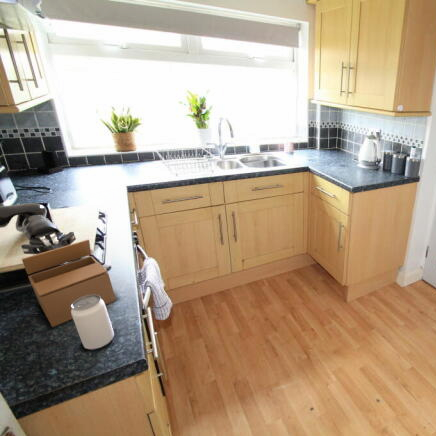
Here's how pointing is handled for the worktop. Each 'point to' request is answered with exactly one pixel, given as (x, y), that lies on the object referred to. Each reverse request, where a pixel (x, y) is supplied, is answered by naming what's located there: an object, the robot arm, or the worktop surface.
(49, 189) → the worktop surface
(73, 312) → the can
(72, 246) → the flap
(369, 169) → the worktop surface
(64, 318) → the carton
